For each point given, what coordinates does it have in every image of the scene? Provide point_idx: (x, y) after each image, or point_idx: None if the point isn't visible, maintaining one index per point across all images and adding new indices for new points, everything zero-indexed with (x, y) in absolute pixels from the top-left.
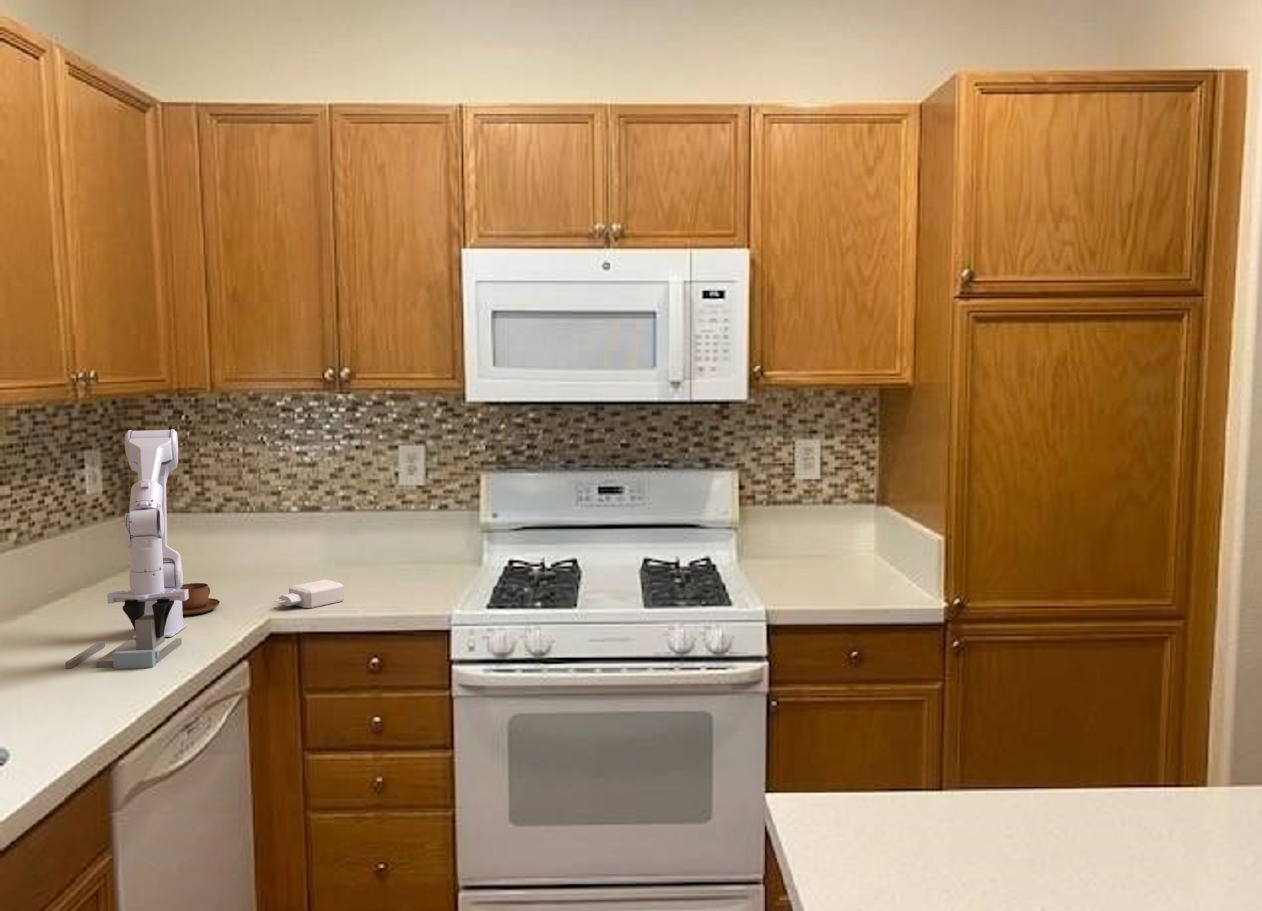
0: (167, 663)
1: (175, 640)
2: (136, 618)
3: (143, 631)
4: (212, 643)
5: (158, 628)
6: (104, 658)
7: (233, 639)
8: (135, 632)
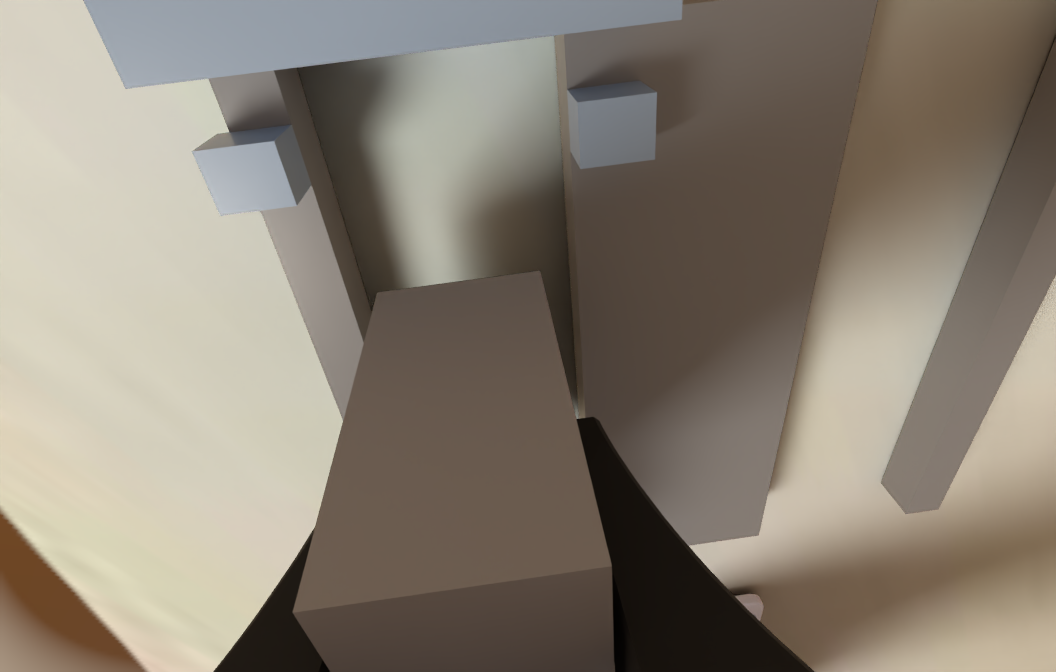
0: (132, 119)
1: None
2: (635, 640)
3: (456, 422)
4: (208, 570)
5: None
6: (810, 96)
7: (135, 628)
8: (621, 460)
